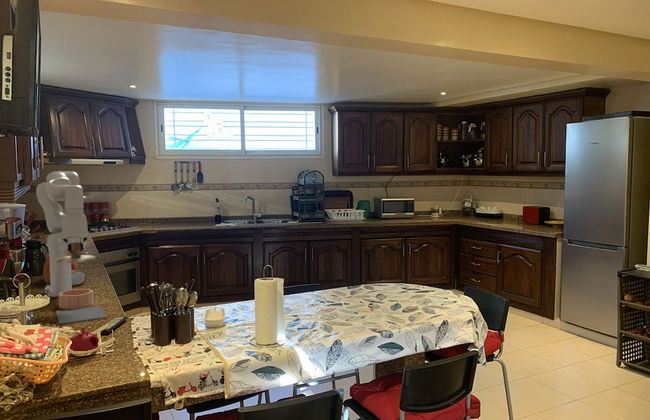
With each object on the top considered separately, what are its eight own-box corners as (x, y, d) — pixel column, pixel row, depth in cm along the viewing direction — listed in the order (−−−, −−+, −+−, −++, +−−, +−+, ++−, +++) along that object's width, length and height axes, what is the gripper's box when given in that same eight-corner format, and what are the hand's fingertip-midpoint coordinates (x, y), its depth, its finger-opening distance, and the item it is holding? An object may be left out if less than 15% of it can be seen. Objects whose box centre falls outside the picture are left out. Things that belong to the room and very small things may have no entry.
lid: (57, 263, 214) (56, 245, 214) (54, 259, 228) (54, 241, 227) (97, 260, 223) (96, 243, 222) (92, 256, 236) (92, 239, 236)
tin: (84, 283, 275) (84, 268, 274) (87, 283, 273) (86, 269, 273) (56, 287, 264) (56, 272, 263) (59, 288, 262) (58, 273, 261)
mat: (55, 312, 216) (55, 311, 216) (100, 307, 226) (100, 305, 226) (59, 324, 199) (59, 323, 199) (106, 318, 209) (106, 316, 209)
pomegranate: (66, 361, 161) (64, 334, 160) (68, 351, 170) (67, 325, 170) (99, 356, 165) (98, 329, 164) (100, 346, 174) (98, 321, 173)
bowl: (52, 307, 224) (51, 294, 223) (73, 300, 238) (73, 288, 237) (79, 309, 221) (79, 296, 221) (99, 301, 235) (98, 289, 235)
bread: (77, 275, 296) (76, 247, 294) (78, 282, 277) (77, 252, 276) (44, 278, 287) (43, 249, 286) (42, 285, 269) (41, 255, 267)
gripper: (54, 213, 216) (55, 254, 217) (95, 212, 225) (96, 251, 226) (53, 212, 223) (54, 252, 224) (93, 211, 231) (94, 249, 232)
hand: (75, 251), depth 225 cm, fingers closed on lid, 3 cm apart
